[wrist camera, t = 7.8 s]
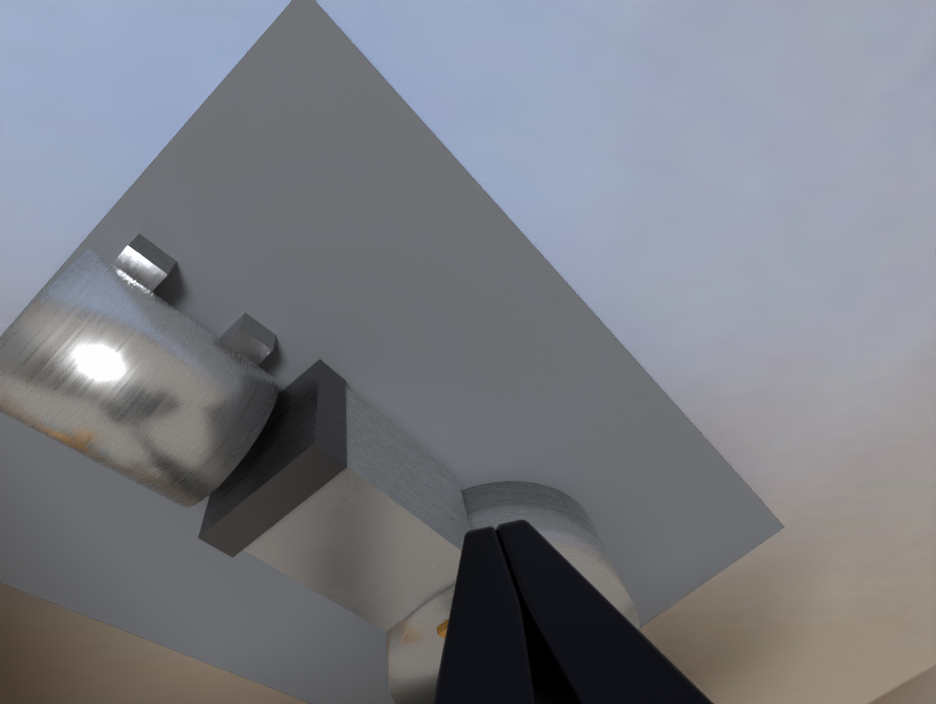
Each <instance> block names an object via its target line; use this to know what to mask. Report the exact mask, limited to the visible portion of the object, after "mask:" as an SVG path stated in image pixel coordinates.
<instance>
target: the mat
mask: <svg viewBox="0 0 936 704" xmlns="http://www.w3.org/2000/svg"><path fill="white" fill-rule="evenodd" d="M138 234H141V235H142V236H143V237H145V238H146V239H147V240H149V241H150V242H152V243H153V244H154V245H156V246H157V247H158V248H160V249H161V250H162V251H164V252H165V253H166V254H168V255H169V256H170V257H172V258H173V259H174V260H176V261H177V262H176V263H175V265H174V266H173V268H172V269H171V271H170V272H169V274H168V275H167V276H166V277H165V278H164V279H163V280H162V282H161V283H160V284H159V285H158V286H157V287H156V288H155V289H154V290H153V291H152V292H153V293H154V294H155V295H157V296H158V297H160V298H161V299H163V300H164V301H165V302H167V303H168V304H170V305H171V306H173V307H174V308H175V309H177V310H178V311H180V312H181V313H183V314H184V315H185V316H187V317H188V318H190V319H191V320H193V321H194V322H195V323H197V324H198V325H200V326H201V327H203V328H204V329H205V330H207V331H208V332H210V333H211V334H213V335H214V336H215V337H217V338H218V339H219V338H220V337H221V336H222V335H223V334H224V333H225V332H226V331H227V330H228V329H229V328H230V327H231V326H232V325H233V324H234V323H235V322H236V321H237V320H238V319H239V318H240V317H241V316H242V315H243V314H244V313H245V312H246V313H247V314H248V315H250V316H251V317H252V318H254V319H255V320H256V321H258V322H259V323H260V324H262V325H263V326H265V327H266V328H267V329H269V330H270V331H271V332H273V333H274V334H275V335H276V338H275V343H274V348H273V351H272V352H271V353H270V354H269V355H268V356H267V357H266V358H265V359H264V360H263V361H262V362H261V363H260V364H259V365H258V367H260V368H261V369H263V370H264V371H266V372H267V373H268V374H270V375H271V376H273V377H274V378H275V379H277V381H278V385H279V388H278V394H279V393H280V392H281V391H283V390H284V389H285V388H286V387H287V386H289V385H290V384H291V383H292V382H293V381H294V380H296V379H297V378H298V377H299V376H300V375H301V374H303V373H304V372H305V371H306V370H307V369H309V368H310V367H311V366H312V365H313V364H314V363H316V362H317V361H318V360H319V359H321V360H322V361H323V362H324V363H325V364H327V365H328V366H329V367H330V368H331V369H332V370H334V371H335V372H336V373H337V374H338V375H340V376H341V377H342V378H343V379H344V380H346V387H348V388H349V389H350V390H351V391H352V392H354V393H355V394H356V395H357V396H358V397H360V398H361V399H362V400H363V401H364V402H366V403H367V404H368V405H369V406H370V407H372V408H373V409H374V410H375V411H376V412H378V413H379V414H380V415H381V416H382V417H384V418H385V419H386V420H387V421H388V422H390V423H391V424H392V425H393V426H394V427H396V428H397V429H398V430H399V431H400V432H402V433H403V434H404V435H405V436H406V437H408V438H409V439H410V440H411V441H412V442H414V443H415V444H416V445H417V446H418V447H420V448H421V449H422V450H423V451H424V452H426V453H427V454H428V455H429V456H430V457H432V458H433V459H434V460H435V461H436V462H438V463H439V464H440V465H441V466H442V467H444V468H445V469H446V470H447V471H448V472H450V473H451V474H452V475H453V476H454V477H456V478H457V479H458V481H459V485H460V489H461V490H463V489H466V488H470V487H473V486H477V485H482V484H487V483H492V482H503V481H524V482H532V483H538V484H542V485H546V486H550V487H552V488H555V489H557V490H560V491H562V492H564V493H565V494H567V495H569V496H571V497H572V498H573V499H574V500H576V501H577V502H578V503H579V504H580V505H581V506H582V507H583V508H584V509H585V511H586V512H587V514H588V515H589V517H590V519H591V520H592V522H593V524H594V526H595V528H596V530H597V532H598V534H599V536H600V538H601V540H602V542H603V544H604V546H605V548H606V550H607V552H608V554H609V556H610V558H611V560H612V562H613V564H614V566H615V568H616V570H617V572H618V574H619V576H620V578H621V580H622V582H623V584H624V586H625V588H626V590H627V592H628V594H629V596H630V598H631V600H632V602H633V604H634V606H635V608H636V611H637V614H638V617H639V626H640V627H642V626H643V625H645V624H646V623H647V622H649V621H650V620H652V619H653V618H655V617H656V616H658V615H659V614H660V613H662V612H663V611H665V610H666V609H668V608H669V607H670V606H672V605H673V604H675V603H676V602H678V601H679V600H681V599H682V598H683V597H685V596H686V595H688V594H689V593H691V592H692V591H694V590H695V589H696V588H698V587H699V586H701V585H702V584H704V583H705V582H706V581H708V580H709V579H711V578H712V577H714V576H715V575H717V574H718V573H719V572H721V571H722V570H724V569H725V568H727V567H728V566H730V565H731V564H732V563H734V562H735V561H737V560H738V559H740V558H741V557H742V556H744V555H745V554H747V553H748V552H750V551H751V550H753V549H754V548H755V547H757V546H758V545H760V544H761V543H763V542H764V541H766V540H767V539H768V538H770V537H771V536H773V535H774V534H776V533H777V532H778V531H780V530H781V529H783V528H784V526H783V525H782V523H781V522H780V521H779V520H778V519H777V518H776V517H775V515H774V514H773V513H772V512H771V511H770V510H769V509H768V507H767V506H766V505H765V504H764V503H763V502H762V501H761V500H760V498H759V497H758V496H757V495H756V494H755V493H754V492H753V491H752V489H751V488H750V487H749V486H748V485H747V484H746V483H745V482H744V481H743V479H742V478H741V477H740V476H739V475H738V474H737V473H736V472H735V470H734V469H733V468H732V467H731V466H730V465H729V464H728V463H727V461H726V460H725V459H724V458H723V457H722V456H721V455H720V454H719V453H718V451H717V450H716V449H715V448H714V447H713V446H712V445H711V444H710V442H709V441H708V440H707V439H706V438H705V437H704V436H703V435H702V434H701V432H700V431H699V430H698V429H697V428H696V427H695V426H694V425H693V423H692V422H691V421H690V420H689V419H688V418H687V417H686V416H685V414H684V413H683V412H682V411H681V410H680V409H679V408H678V407H677V406H676V404H675V403H674V402H673V401H672V400H671V399H670V398H669V397H668V395H667V394H666V393H665V392H664V391H663V390H662V389H661V388H660V386H659V385H658V384H657V383H656V382H655V381H654V380H653V379H652V378H651V376H650V375H649V374H648V373H647V372H646V371H645V370H644V369H643V367H642V366H641V365H640V364H639V363H638V362H637V361H636V360H635V358H634V357H633V356H632V355H631V354H630V353H629V352H628V351H627V350H626V348H625V347H624V346H623V345H622V344H621V343H620V342H619V341H618V339H617V338H616V337H615V336H614V335H613V334H612V333H611V332H610V330H609V329H608V328H607V327H606V326H605V325H604V324H603V323H602V322H601V320H600V319H599V318H598V317H597V316H596V315H595V314H594V313H593V311H592V310H591V309H590V308H589V307H588V306H587V305H586V304H585V302H584V301H583V300H582V299H581V298H580V297H579V296H578V295H577V294H576V292H575V291H574V290H573V289H572V288H571V287H570V286H569V285H568V283H567V282H566V281H565V280H564V279H563V278H562V277H561V276H560V274H559V273H558V272H557V271H556V270H555V269H554V268H553V267H552V266H551V264H550V263H549V262H548V261H547V260H546V259H545V258H544V257H543V255H542V254H541V253H540V252H539V251H538V250H537V249H536V248H535V246H534V245H533V244H532V243H531V242H530V241H529V240H528V239H527V238H526V236H525V235H524V234H523V233H522V232H521V231H520V230H519V229H518V227H517V226H516V225H515V224H514V223H513V222H512V221H511V220H510V219H509V217H508V216H507V215H506V214H505V213H504V212H503V211H502V210H501V208H500V207H499V206H498V205H497V204H496V203H495V202H494V201H493V199H492V198H491V197H490V196H489V195H488V194H487V193H486V192H485V191H484V189H483V188H482V187H481V186H480V185H479V184H478V183H477V182H476V180H475V179H474V178H473V177H472V176H471V175H470V174H469V173H468V171H467V170H466V169H465V168H464V167H463V166H462V165H461V164H460V163H459V161H458V160H457V159H456V158H455V157H454V156H453V155H452V154H451V152H450V151H449V150H448V149H447V148H446V147H445V146H444V145H443V143H442V142H441V141H440V140H439V139H438V138H437V137H436V136H435V135H434V133H433V132H432V131H431V130H430V129H429V128H428V127H427V126H426V124H425V123H424V122H423V121H422V120H421V119H420V118H419V117H418V115H417V114H416V113H415V112H414V111H413V110H412V109H411V108H410V107H409V105H408V104H407V103H406V102H405V101H404V100H403V99H402V98H401V96H400V95H399V94H398V93H397V92H396V91H395V90H394V89H393V87H392V86H391V85H390V84H389V83H388V82H387V81H386V80H385V79H384V77H383V76H382V75H381V74H380V73H379V72H378V71H377V70H376V68H375V67H374V66H373V65H372V64H371V63H370V62H369V61H368V59H367V58H366V57H365V56H364V55H363V54H362V53H361V52H360V51H359V49H358V48H357V47H356V46H355V45H354V44H353V43H352V42H351V40H350V39H349V38H348V37H347V36H346V35H345V34H344V33H343V32H342V30H341V29H340V28H339V27H338V26H337V25H336V24H335V23H334V21H333V20H332V19H331V18H330V17H329V16H328V15H327V14H326V12H325V11H324V10H323V9H322V8H321V7H320V6H319V5H318V4H317V2H316V1H315V0H292V1H291V3H290V4H289V5H288V6H287V7H286V8H285V9H284V11H283V12H282V13H281V14H280V15H279V16H278V17H277V19H276V20H275V21H274V22H273V23H272V24H271V26H270V27H269V28H268V29H267V30H266V31H265V32H264V34H263V35H262V36H261V37H260V38H259V39H258V41H257V42H256V43H255V44H254V45H253V46H252V47H251V49H250V50H249V51H248V52H247V53H246V54H245V56H244V57H243V58H242V59H241V60H240V61H239V62H238V64H237V65H236V66H235V67H234V68H233V69H232V70H231V72H230V73H229V74H228V75H227V76H226V77H225V79H224V80H223V81H222V82H221V83H220V84H219V85H218V87H217V88H216V89H215V90H214V91H213V92H212V94H211V95H210V96H209V97H208V98H207V99H206V100H205V102H204V103H203V104H202V105H201V106H200V107H199V109H198V110H197V111H196V112H195V113H194V114H193V115H192V117H191V118H190V119H189V120H188V121H187V122H186V123H185V125H184V126H183V127H182V128H181V129H180V130H179V132H178V133H177V134H176V135H175V136H174V137H173V138H172V140H171V141H170V142H169V143H168V144H167V145H166V147H165V148H164V149H163V150H162V151H161V152H160V153H159V155H158V156H157V157H156V158H155V159H154V160H153V162H152V163H151V164H150V165H149V166H148V167H147V168H146V170H145V171H144V172H143V173H142V174H141V175H140V176H139V178H138V179H137V180H136V181H135V182H134V183H133V185H132V186H131V187H130V188H129V189H128V190H127V191H126V193H125V194H124V195H123V196H122V197H121V198H120V200H119V201H118V202H117V203H116V204H115V205H114V206H113V208H112V209H111V210H110V211H109V212H108V213H107V215H106V216H105V217H104V218H103V219H102V220H101V221H100V223H99V224H98V225H97V226H96V227H95V228H94V229H93V231H92V232H91V233H90V234H89V235H88V236H87V238H86V239H85V240H84V241H83V242H82V243H81V244H80V246H79V247H78V248H77V249H76V250H75V251H74V253H73V254H72V255H71V256H70V257H69V258H68V259H67V261H66V262H65V263H64V264H63V265H62V266H61V268H60V269H59V270H58V271H57V272H56V273H55V274H54V276H53V277H52V278H51V279H50V280H49V281H48V283H47V284H46V285H45V286H44V287H43V288H42V289H41V291H40V292H39V293H38V294H37V295H36V296H35V297H34V299H33V300H32V301H31V302H30V303H29V304H28V306H27V307H26V308H25V309H24V310H23V311H22V312H21V314H20V315H19V316H18V317H17V318H16V319H15V321H14V322H13V323H12V324H11V325H10V326H9V327H8V329H7V330H6V331H5V332H4V333H3V334H2V336H3V335H4V334H5V333H6V332H7V331H8V330H9V328H10V327H11V326H12V325H13V324H14V323H15V322H16V321H17V320H18V319H19V318H20V317H21V316H22V314H23V313H24V312H25V311H26V310H27V309H28V308H29V307H30V306H31V305H32V304H33V303H34V302H35V301H36V300H37V299H38V298H39V296H40V295H41V294H42V293H43V292H44V291H45V290H46V289H47V288H48V287H49V286H50V285H51V284H52V283H53V282H54V281H55V280H56V279H57V278H58V277H59V276H60V275H61V274H62V273H63V272H64V271H65V270H66V269H67V268H68V267H69V266H70V265H71V264H72V263H73V262H74V261H75V260H76V259H77V258H78V257H80V256H81V255H82V254H83V253H84V252H85V251H86V250H88V249H91V250H93V251H94V252H95V253H97V254H98V255H100V256H101V257H103V258H104V259H105V260H107V261H108V262H110V263H111V264H112V263H113V262H114V261H115V259H116V258H117V257H118V256H119V255H120V254H121V253H122V252H123V250H124V249H125V248H126V247H127V246H128V245H129V244H130V243H131V242H132V241H133V240H134V239H135V237H136V236H137V235H138ZM2 336H1V337H2ZM1 337H0V338H1ZM209 496H210V495H209ZM209 496H207V497H206V498H205V499H203V500H202V501H201V502H199V503H197V504H196V505H194V506H191V507H188V508H183V507H181V506H179V505H177V504H175V503H173V502H172V501H170V500H168V499H166V498H164V497H162V496H160V495H158V494H156V493H154V492H152V491H150V490H149V489H147V488H145V487H143V486H141V485H139V484H137V483H135V482H133V481H131V480H129V479H128V478H126V477H124V476H122V475H120V474H118V473H116V472H114V471H112V470H110V469H108V468H107V467H105V466H103V465H101V464H99V463H97V462H95V461H93V460H91V459H89V458H87V457H85V456H84V455H82V454H80V453H78V452H76V451H74V450H72V449H70V448H68V447H66V446H64V445H63V444H61V443H59V442H57V441H55V440H53V439H51V438H49V437H47V436H45V435H43V434H42V433H40V432H38V431H36V430H34V429H32V428H30V427H28V426H26V425H24V424H22V423H20V422H19V421H17V420H15V419H13V418H11V417H9V416H7V415H5V414H3V413H1V412H0V583H2V584H5V585H7V586H10V587H13V588H15V589H18V590H20V591H23V592H25V593H28V594H30V595H33V596H36V597H38V598H41V599H43V600H46V601H48V602H51V603H54V604H56V605H59V606H61V607H64V608H66V609H69V610H72V611H74V612H77V613H79V614H82V615H84V616H87V617H90V618H92V619H95V620H97V621H100V622H102V623H105V624H108V625H110V626H113V627H115V628H118V629H120V630H123V631H125V632H128V633H131V634H133V635H136V636H138V637H141V638H143V639H146V640H149V641H151V642H154V643H156V644H159V645H161V646H164V647H167V648H169V649H172V650H174V651H177V652H179V653H182V654H185V655H187V656H190V657H192V658H195V659H197V660H200V661H203V662H205V663H208V664H210V665H213V666H215V667H218V668H220V669H223V670H226V671H228V672H231V673H233V674H236V675H238V676H241V677H244V678H246V679H249V680H251V681H254V682H256V683H259V684H262V685H264V686H267V687H269V688H272V689H274V690H277V691H280V692H282V693H285V694H287V695H290V696H292V697H295V698H298V699H300V700H303V701H305V702H308V703H310V704H396V703H395V702H394V700H393V698H392V696H391V692H390V688H389V679H388V665H387V651H386V637H385V631H383V630H381V629H380V628H378V627H376V626H374V625H373V624H371V623H369V622H367V621H366V620H364V619H362V618H360V617H359V616H357V615H355V614H354V613H352V612H350V611H348V610H347V609H345V608H343V607H341V606H340V605H338V604H336V603H334V602H333V601H331V600H329V599H327V598H326V597H324V596H322V595H321V594H319V593H317V592H315V591H314V590H312V589H310V588H308V587H307V586H305V585H303V584H301V583H300V582H298V581H296V580H294V579H293V578H291V577H289V576H288V575H286V574H284V573H282V572H281V571H279V570H277V569H275V568H274V567H272V566H270V565H268V564H267V563H265V562H263V561H261V560H260V559H258V558H256V557H255V556H253V555H251V554H249V553H248V552H246V551H244V550H242V551H241V552H240V553H238V554H237V555H236V556H234V557H233V558H232V557H230V556H229V555H227V554H225V553H223V552H221V551H220V550H218V549H216V548H214V547H213V546H211V545H209V544H207V543H205V542H204V541H202V540H200V539H198V536H199V532H200V529H201V525H202V521H203V518H204V514H205V510H206V507H207V503H208V500H209Z"/></svg>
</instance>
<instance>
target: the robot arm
mask: <svg viewBox="0 0 936 704" xmlns="http://www.w3.org/2000/svg"><path fill="white" fill-rule="evenodd" d="M433 704H713V703H712V702H711V701H710V700H709V699H708V698H707V697H706V696H705V695H704V694H703V693H702V692H701V691H700V690H699V689H698V688H697V687H696V686H695V685H694V684H693V683H692V682H691V681H690V680H689V679H688V678H687V677H686V676H685V675H684V674H683V673H682V672H681V671H680V670H679V669H678V668H677V667H676V666H675V665H674V664H673V663H672V662H671V661H670V660H669V659H668V658H667V657H666V656H664V655H663V654H662V653H661V652H660V651H659V650H658V649H657V648H656V647H655V646H654V645H653V644H652V643H651V642H650V641H649V640H648V639H647V638H646V637H645V636H644V635H643V634H642V633H641V632H640V631H639V630H638V629H637V628H636V627H635V626H634V625H633V624H632V623H631V622H630V621H629V620H628V619H627V618H626V617H625V616H624V615H623V614H622V613H621V612H620V611H619V610H618V609H617V608H616V607H614V606H613V605H612V604H611V603H610V602H609V601H608V600H607V599H606V598H605V597H604V596H603V595H602V594H601V593H600V592H599V591H598V590H597V589H596V588H595V587H594V586H593V585H592V584H591V583H590V582H589V581H588V580H587V579H586V578H585V577H584V576H583V575H582V574H581V573H580V572H579V571H578V570H577V569H576V568H575V567H574V566H573V565H572V564H571V563H570V562H569V561H568V560H567V559H566V558H565V557H563V556H562V555H561V554H560V553H559V552H558V551H557V550H556V549H555V548H554V547H553V546H552V545H551V544H550V543H549V542H548V541H547V540H546V539H545V538H544V537H543V536H542V535H541V534H540V533H539V532H538V531H537V530H536V529H535V528H534V527H533V526H532V525H531V524H530V523H529V522H527V521H526V520H523V519H522V520H516V521H511V522H506V523H502V524H499V525H498V526H497V528H496V529H495V528H494V527H492V526H488V527H483V528H479V529H474V530H470V531H467V532H466V534H465V536H464V540H463V546H462V551H461V556H460V561H459V567H458V572H457V577H456V582H455V588H454V593H453V598H452V604H451V609H450V614H449V619H448V625H447V630H446V635H445V641H444V646H443V651H442V656H441V662H440V667H439V672H438V677H437V683H436V688H435V693H434V699H433Z"/></svg>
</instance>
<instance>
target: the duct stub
mask: <svg viewBox="0 0 936 704" xmlns="http://www.w3.org/2000/svg"><path fill="white" fill-rule="evenodd" d="M176 262H177V261H176V260H174V259H173V258H172V257H170V256H169V255H168V254H166V253H165V252H164V251H162V250H161V249H160V248H158V247H157V246H156V245H154V244H153V243H152V242H150V241H149V240H147V239H146V238H145V237H143V236H142V235H141V234H138V235H137V236H136V237H135V239H134V240H133V241H132V242H131V243H130V244H129V245H128V246H127V247H126V248H125V249H124V250H123V252H122V253H121V254H120V255H119V256H118V257H117V258H116V259H115V261H114V262H113V263H112V264H111V263H110V262H108V261H107V260H105V259H104V258H103V257H101V256H100V255H98V254H97V253H95V252H94V251H93V250H91V249H88V250H86V251H85V252H84V253H83V254H82V255H81V256H80V257H78V258H77V259H76V260H75V261H74V262H73V263H72V264H71V265H70V266H69V267H68V268H67V269H66V270H65V271H64V272H63V273H62V274H61V275H60V276H59V277H58V278H57V279H56V280H55V281H54V282H53V283H52V284H51V285H50V286H49V287H48V288H47V289H46V290H45V291H44V292H43V293H42V294H41V295H40V296H39V298H38V299H37V300H36V301H35V302H34V303H33V304H32V305H31V306H30V307H29V308H28V309H27V310H26V311H25V312H24V313H23V314H22V316H21V317H20V318H19V319H18V320H17V321H16V322H15V323H14V324H13V325H12V326H11V327H10V328H9V330H8V331H7V332H6V333H5V334H4V335H3V336H2V337H1V338H0V412H1V413H3V414H5V415H7V416H9V417H11V418H13V419H15V420H17V421H19V422H20V423H22V424H24V425H26V426H28V427H30V428H32V429H34V430H36V431H38V432H40V433H42V434H43V435H45V436H47V437H49V438H51V439H53V440H55V441H57V442H59V443H61V444H63V445H64V446H66V447H68V448H70V449H72V450H74V451H76V452H78V453H80V454H82V455H84V456H85V457H87V458H89V459H91V460H93V461H95V462H97V463H99V464H101V465H103V466H105V467H107V468H108V469H110V470H112V471H114V472H116V473H118V474H120V475H122V476H124V477H126V478H128V479H129V480H131V481H133V482H135V483H137V484H139V485H141V486H143V487H145V488H147V489H149V490H150V491H152V492H154V493H156V494H158V495H160V496H162V497H164V498H166V499H168V500H170V501H172V502H173V503H175V504H177V505H179V506H181V507H183V508H188V507H191V506H194V505H196V504H197V503H199V502H201V501H202V500H203V499H205V498H206V497H207V496H209V495H210V494H211V493H212V492H213V491H214V490H215V489H216V488H217V487H218V486H219V485H220V484H221V483H222V482H223V481H224V480H225V479H226V478H227V477H228V476H229V475H230V474H231V472H232V471H233V470H234V469H235V468H236V467H237V465H238V464H239V463H240V461H241V460H242V459H243V458H244V456H245V455H246V453H247V452H248V451H249V449H250V448H251V446H252V445H253V443H254V442H255V440H256V439H257V437H258V436H259V434H260V432H261V431H262V429H263V427H264V425H265V424H266V422H267V420H268V418H269V416H270V414H271V412H272V409H273V407H274V404H275V401H276V398H277V395H278V388H279V385H278V381H277V379H275V378H274V377H273V376H271V375H270V374H268V373H267V372H266V371H264V370H263V369H261V368H260V367H258V365H259V364H260V363H261V362H262V361H263V360H264V359H265V358H266V357H267V356H268V355H269V354H270V353H271V352H272V351H273V348H274V343H275V338H276V335H275V334H274V333H273V332H271V331H270V330H269V329H267V328H266V327H265V326H263V325H262V324H260V323H259V322H258V321H256V320H255V319H254V318H252V317H251V316H250V315H248V314H247V313H246V312H245V313H244V314H243V315H242V316H241V317H240V318H239V319H238V320H237V321H236V322H235V323H234V324H233V325H232V326H231V327H230V328H229V329H228V330H227V331H226V332H225V333H224V334H223V335H222V336H221V337H220V338H219V339H218V338H217V337H215V336H214V335H213V334H211V333H210V332H208V331H207V330H205V329H204V328H203V327H201V326H200V325H198V324H197V323H195V322H194V321H193V320H191V319H190V318H188V317H187V316H185V315H184V314H183V313H181V312H180V311H178V310H177V309H175V308H174V307H173V306H171V305H170V304H168V303H167V302H165V301H164V300H163V299H161V298H160V297H158V296H157V295H155V294H154V293H153V292H152V291H153V290H154V289H155V288H156V287H157V286H158V285H159V284H160V283H161V282H162V280H163V279H164V278H165V277H166V276H167V275H168V274H169V272H170V271H171V269H172V268H173V266H174V265H175V263H176Z"/></svg>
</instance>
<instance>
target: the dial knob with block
mask: <svg viewBox="0 0 936 704" xmlns="http://www.w3.org/2000/svg"><path fill="white" fill-rule="evenodd" d="M522 519H523V520H526V521H527V522H529V523H530V524H531V525H532V526H533V527H534V528H535V529H536V530H537V531H538V532H539V533H540V534H541V535H542V536H543V537H544V538H545V539H546V540H547V541H548V542H549V543H550V544H551V545H552V546H553V547H554V548H555V549H556V550H557V551H558V552H559V553H560V554H561V555H562V556H563V557H565V558H566V559H567V560H568V561H569V562H570V563H571V564H572V565H573V566H574V567H575V568H576V569H577V570H578V571H579V572H580V573H581V574H582V575H583V576H584V577H585V578H586V579H587V580H588V581H589V582H590V583H591V584H592V585H593V586H594V587H595V588H596V589H597V590H598V591H599V592H600V593H601V594H602V595H603V596H604V597H605V598H606V599H607V600H608V601H609V602H610V603H611V604H612V605H613V606H614V607H616V608H617V609H618V610H619V611H620V612H621V613H622V614H623V615H624V616H625V617H626V618H627V619H628V620H629V621H630V622H631V623H632V624H633V625H634V626H635V627H636V628H637V629H638V630H640V626H639V617H638V614H637V611H636V608H635V606H634V604H633V602H632V600H631V598H630V596H629V594H628V592H627V590H626V588H625V586H624V584H623V582H622V580H621V578H620V576H619V574H618V572H617V570H616V568H615V566H614V564H613V562H612V560H611V558H610V556H609V554H608V552H607V550H606V548H605V546H604V544H603V542H602V540H601V538H600V536H599V534H598V532H597V530H596V528H595V526H594V524H593V522H592V520H591V519H590V517H589V515H588V514H587V512H586V511H585V509H584V508H583V507H582V506H581V505H580V504H579V503H578V502H577V501H576V500H574V499H573V498H572V497H571V496H569V495H567V494H565V493H564V492H562V491H560V490H557V489H555V488H552V487H550V486H546V485H542V484H538V483H532V482H524V481H503V482H492V483H487V484H482V485H477V486H473V487H470V488H466V489H463V490H461V489H460V485H459V481H458V479H457V478H456V477H454V476H453V475H452V474H451V473H450V472H448V471H447V470H446V469H445V468H444V467H442V466H441V465H440V464H439V463H438V462H436V461H435V460H434V459H433V458H432V457H430V456H429V455H428V454H427V453H426V452H424V451H423V450H422V449H421V448H420V447H418V446H417V445H416V444H415V443H414V442H412V441H411V440H410V439H409V438H408V437H406V436H405V435H404V434H403V433H402V432H400V431H399V430H398V429H397V428H396V427H394V426H393V425H392V424H391V423H390V422H388V421H387V420H386V419H385V418H384V417H382V416H381V415H380V414H379V413H378V412H376V411H375V410H374V409H373V408H372V407H370V406H369V405H368V404H367V403H366V402H364V401H363V400H362V399H361V398H360V397H358V396H357V395H356V394H355V393H354V392H352V391H351V390H350V389H349V388H348V387H346V380H344V379H343V378H342V377H341V376H340V375H338V374H337V373H336V372H335V371H334V370H332V369H331V368H330V367H329V366H328V365H327V364H325V363H324V362H323V361H322V360H321V359H319V360H318V361H317V362H316V363H314V364H313V365H312V366H311V367H310V368H309V369H307V370H306V371H305V372H304V373H303V374H301V375H300V376H299V377H298V378H297V379H296V380H294V381H293V382H292V383H291V384H290V385H289V386H287V387H286V388H285V389H284V390H283V391H281V392H280V393H279V394H278V395H277V398H276V401H275V404H274V407H273V409H272V412H271V414H270V416H269V418H268V420H267V422H266V424H265V425H264V427H263V429H262V431H261V432H260V434H259V436H258V437H257V439H256V440H255V442H254V443H253V445H252V446H251V448H250V449H249V451H248V452H247V453H246V455H245V456H244V458H243V459H242V460H241V461H240V463H239V464H238V465H237V467H236V468H235V469H234V470H233V471H232V472H231V474H230V475H229V476H228V477H227V478H226V479H225V480H224V481H223V482H222V483H221V484H220V485H219V486H218V487H217V488H216V489H215V490H214V491H213V492H212V493H211V494H210V496H209V500H208V503H207V507H206V510H205V514H204V518H203V521H202V525H201V529H200V532H199V536H198V539H200V540H202V541H204V542H205V543H207V544H209V545H211V546H213V547H214V548H216V549H218V550H220V551H221V552H223V553H225V554H227V555H229V556H230V557H232V558H233V557H234V556H236V555H237V554H238V553H240V552H241V551H242V550H244V551H246V552H248V553H249V554H251V555H253V556H255V557H256V558H258V559H260V560H261V561H263V562H265V563H267V564H268V565H270V566H272V567H274V568H275V569H277V570H279V571H281V572H282V573H284V574H286V575H288V576H289V577H291V578H293V579H294V580H296V581H298V582H300V583H301V584H303V585H305V586H307V587H308V588H310V589H312V590H314V591H315V592H317V593H319V594H321V595H322V596H324V597H326V598H327V599H329V600H331V601H333V602H334V603H336V604H338V605H340V606H341V607H343V608H345V609H347V610H348V611H350V612H352V613H354V614H355V615H357V616H359V617H360V618H362V619H364V620H366V621H367V622H369V623H371V624H373V625H374V626H376V627H378V628H380V629H381V630H383V631H385V637H386V651H387V665H388V679H389V688H390V692H391V696H392V698H393V700H394V702H395V703H396V704H433V699H434V693H435V688H436V683H437V677H438V672H439V667H440V662H441V656H442V651H443V646H444V641H445V635H446V630H447V625H448V619H449V614H450V609H451V604H452V598H453V593H454V588H455V582H456V577H457V572H458V567H459V561H460V556H461V551H462V546H463V540H464V536H465V534H466V532H467V531H470V530H474V529H479V528H483V527H488V526H492V527H494V528H495V529H496V528H497V526H498V525H499V524H502V523H506V522H511V521H516V520H522Z"/></svg>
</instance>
